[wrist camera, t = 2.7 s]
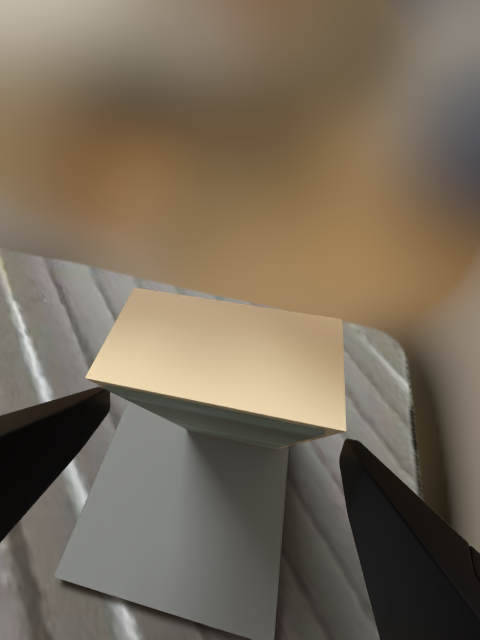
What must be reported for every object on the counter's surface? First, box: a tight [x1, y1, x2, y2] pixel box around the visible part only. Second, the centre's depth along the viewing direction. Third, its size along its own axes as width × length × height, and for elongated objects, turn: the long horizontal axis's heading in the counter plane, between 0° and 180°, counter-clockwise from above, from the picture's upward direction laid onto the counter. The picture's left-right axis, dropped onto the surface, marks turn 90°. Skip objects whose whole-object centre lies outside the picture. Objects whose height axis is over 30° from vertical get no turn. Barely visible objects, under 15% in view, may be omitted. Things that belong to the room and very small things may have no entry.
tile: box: [85, 288, 346, 449], centre depth 11 cm, size 3×6×12 cm, turn 79°
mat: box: [54, 401, 289, 640], centre depth 16 cm, size 17×12×1 cm
